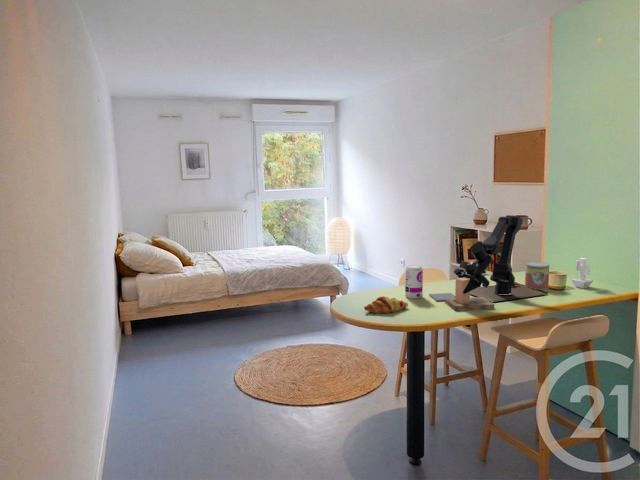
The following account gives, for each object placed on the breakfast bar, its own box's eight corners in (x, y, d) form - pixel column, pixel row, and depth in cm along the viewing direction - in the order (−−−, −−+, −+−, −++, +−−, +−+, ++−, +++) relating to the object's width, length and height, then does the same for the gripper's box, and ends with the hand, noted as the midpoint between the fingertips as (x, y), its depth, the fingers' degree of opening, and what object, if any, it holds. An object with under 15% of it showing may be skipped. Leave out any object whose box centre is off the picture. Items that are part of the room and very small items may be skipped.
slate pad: (450, 294, 242) (450, 292, 242) (459, 300, 231) (459, 298, 231) (429, 295, 241) (429, 293, 241) (436, 301, 230) (436, 299, 230)
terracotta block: (463, 304, 225) (463, 277, 223) (469, 306, 221) (470, 279, 219) (455, 305, 223) (455, 278, 221) (461, 307, 219) (462, 280, 217)
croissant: (404, 313, 224) (400, 296, 227) (414, 309, 215) (410, 291, 218) (362, 318, 217) (358, 300, 220) (370, 313, 208) (367, 295, 211)
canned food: (526, 289, 249) (527, 266, 247) (523, 284, 260) (523, 261, 258) (550, 290, 246) (551, 266, 245) (546, 284, 257) (547, 262, 255)
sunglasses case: (522, 286, 255) (517, 275, 254) (512, 293, 254) (506, 283, 253) (503, 278, 273) (498, 268, 271) (493, 285, 272) (488, 275, 270)
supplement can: (425, 296, 239) (425, 266, 237) (416, 300, 234) (416, 269, 231) (411, 293, 245) (411, 264, 243) (402, 297, 239) (402, 267, 237)
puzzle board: (482, 301, 229) (482, 296, 229) (494, 308, 217) (494, 304, 216) (444, 302, 227) (445, 298, 227) (454, 310, 215) (454, 306, 215)
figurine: (594, 287, 250) (596, 258, 248) (582, 289, 246) (584, 260, 244) (581, 284, 256) (582, 256, 254) (569, 286, 252) (570, 257, 250)
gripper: (457, 251, 229) (437, 276, 226) (484, 257, 211) (463, 285, 209) (470, 266, 233) (451, 291, 230) (498, 273, 216) (477, 301, 213)
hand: (460, 291), depth 221 cm, fingers closed on terracotta block, 4 cm apart
